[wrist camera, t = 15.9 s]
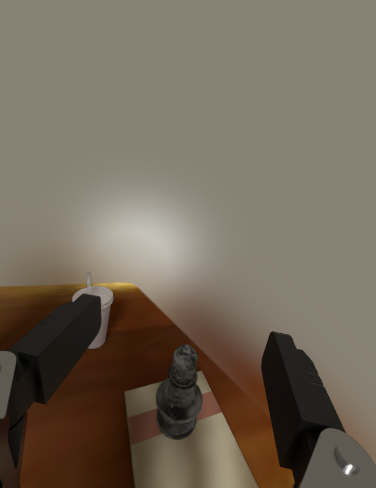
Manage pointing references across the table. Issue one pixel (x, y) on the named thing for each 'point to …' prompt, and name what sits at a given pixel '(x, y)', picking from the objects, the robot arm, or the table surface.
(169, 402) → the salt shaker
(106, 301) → the smoothie
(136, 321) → the table surface
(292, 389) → the robot arm
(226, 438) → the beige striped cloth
